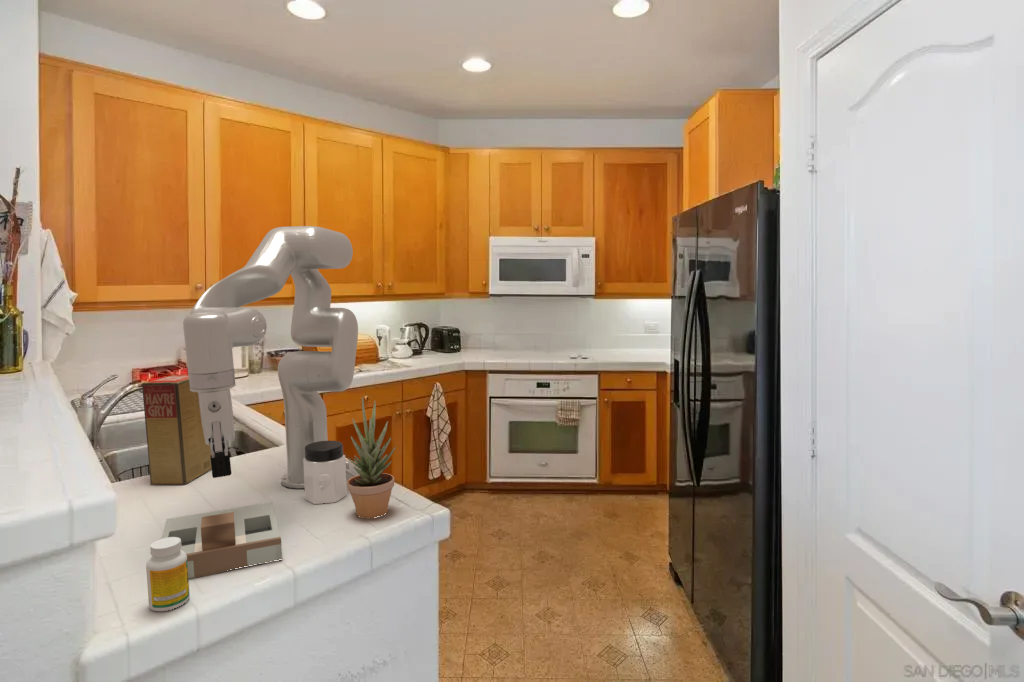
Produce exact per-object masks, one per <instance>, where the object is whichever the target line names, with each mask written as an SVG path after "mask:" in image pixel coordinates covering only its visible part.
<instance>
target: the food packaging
mask: <svg viewBox="0 0 1024 682" xmlns="http://www.w3.org/2000/svg"><path fill="white" fill-rule="evenodd" d="M141 388H142V397H143V398H142V399H143V400H142V401H143V412H144V423H145V433H146V443H147V456H148V467H149V468H148V469H149V470H148V471H149V481H150V482H149V485H150V486H185V484H186V485H188V484H189V483H192V481H195V480H196V479H198V478H200V477H201V475H202V476H203V475H205V474H207V473H209V472H210V471H212V470H211V469H212V468H211V459H210V457H211V456H210V455H211V447H210V445H207V444H206V443H205V438H204V433H203V428H202V422H201V415H200V407H199V398H198V392H192V391H190V385H189V375H188V374H172V375H170V376H165V377H162V378H159V379H154V380H151V381H146V382H142V383H141ZM208 471H209V472H208ZM206 472H207V473H206ZM199 476H200V477H199ZM194 479H195V480H194ZM187 483H188V484H187Z"/></svg>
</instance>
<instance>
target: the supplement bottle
mask: <svg viewBox="0 0 1024 682" xmlns="http://www.w3.org/2000/svg"><path fill="white" fill-rule="evenodd" d="M181 547H182V545H181V539H180V538H178V537H168V538H163V539H162V538H160V539H158V540H155V541H153V542H152V543H151V544H150V546H149V548H150V555H151V556H150V557H149V558H148V559H147V561H146V564H145V565H146V567H145V569H146V580H147V581H146V582H147V583H146V584H147V594H148V596H147V597H148V604H149V605H148V606H149V609H151V611H154V612H169V611H173V610H175V609H174V608H176V609H178V608H180V607H182V606H183V604H184V603H185V604H186V603H187V602H188V601H189V599H190V596H191V594H190V583H189V582H190V581H189V580H190V579H188V563H187V555H186V553H185V552H184V551H182V550H181ZM185 604H184V605H185ZM181 605H182V606H181ZM179 606H180V607H179ZM177 607H178V608H177ZM172 609H173V610H172ZM168 610H169V611H168Z"/></svg>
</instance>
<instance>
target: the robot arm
mask: <svg viewBox="0 0 1024 682" xmlns="http://www.w3.org/2000/svg"><path fill="white" fill-rule="evenodd" d="M353 254H354V251H353V246H352V242H351V241H350V238H349V237H348V236H347V235H346V234H344V233H343V232H339V231H336V230H332V229H329V228H326V227H322V226H315V225H314V226H312V225H298V226H295V225H294V226H278V227H275V228H272V229H271V230H269V231H268V232H267V233H266V234H265V235H264V237H263V239H262V241H260V243H259V245H258V246H257V248H256V249H255V250H254V252H253V254H252V255H251V257H249V260H248V261H247V262H246V264H245V265H244V266H243V267H242V268H240V269H238V270H236V271H234V272H232V273H230V274H229V275H227V276H225V277H224V278H222V279H221V280H219V281H217V282H215V283H214V284H213V285H211V286H209V288H207V289H206V290H205V291H204V292H203V293H202V294H201V296H200V297H199V298H198V300H197V302H196V303H195V304H194V306H193V307H192V308H191V311H190V312H189V314H188V315H186V316H184V319H183V322H182V324H183V325H182V326H183V336H184V344H185V345H184V346H185V347H184V348H185V355H186V362H187V363H186V365H187V373H188V374H187V375H189V385H190V391H192V392H198V398H199V407H200V415H201V422H202V428H203V433H204V438H205V443H206V444H207V445H210V447H211V455H210V456H211V457H210V459H211V468H212V470H211V477H212V478H214V479H216V478H222V477H228V476H229V477H230V476H231V475H232V467H231V466H232V464H231V456H230V455H231V454H230V451H229V450H228V442H231V443H233V442H234V441H236V434H235V422H234V411H233V402H232V400H233V399H232V393H231V390H230V389H232V388H234V387H235V386H236V377H235V376H236V373H235V368H234V367H235V366H234V365H235V364H234V356H233V349H234V348H238V347H251V346H254V345H255V344H257V343H259V342H260V341H261V340H262V339H263V338H264V337H265V335H266V332H267V321H266V318H265V316H264V315H263V314H262V313H261V312H260V311H259V310H257V309H255V308H252V307H244V306H246V305H248V304H252V303H257V302H259V301H262V300H265V299H267V298H270V297H272V296H275V295H277V294H279V293H280V291H282V290H283V288H284V286H285V284H286V282H287V280H288V279H289V277H290V276H291V278H292V280H293V284H294V290H295V291H294V302H293V308H292V309H293V310H292V315H291V321H290V322H291V325H290V337H291V340H292V341H293V342H294V344H296V345H298V346H302V347H308V348H309V347H310V348H311V347H313V348H315V347H316V348H318V347H319V348H323V347H324V348H331V351H330V350H328V351H325V350H324V351H322V350H321V351H319V350H318V351H317V350H298V351H297V350H296V351H292V352H289V353H286V354H285V355H284V356H282V357H281V359H280V360H279V362H278V364H277V377H278V381H279V385H280V388H281V392H282V397H283V398H282V400H283V406H284V408H283V409H284V424H285V425H284V428H285V444H286V464H287V466H286V467H287V473H285V474H284V475H283V476H282V477H281V479H280V482H281V485H282V486H284V487H286V488H290V489H305V485H304V464H303V459H304V458H305V446H306V445H308V444H311V443H314V442H319V441H329V438H328V421H327V420H328V419H327V407H326V403H325V401H324V400H323V398H322V396H321V395H320V393H319V392H335V393H336V392H343V391H344V392H345V391H346V390H347V389H349V388H350V386H351V385H352V383H353V379H354V375H355V369H356V368H355V365H356V357H357V349H358V348H357V347H358V338H359V325H358V320H357V317H356V314H355V313H354V312H353V311H352V310H350V309H349V308H345V307H331V303H332V289H331V286H330V284H329V282H328V281H327V279H326V278H325V277H324V275H323V274H322V273H321V272H320V271H319V270H329V269H330V270H333V269H335V270H336V269H345V268H347V266H349V264H350V263H351V262H352V259H353ZM345 462H346V470H347V469H349V468H350V465H349V460H345Z"/></svg>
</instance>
